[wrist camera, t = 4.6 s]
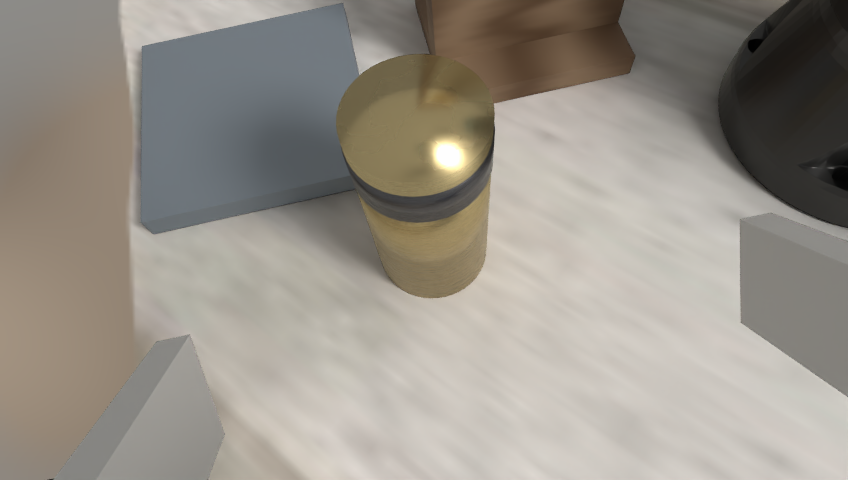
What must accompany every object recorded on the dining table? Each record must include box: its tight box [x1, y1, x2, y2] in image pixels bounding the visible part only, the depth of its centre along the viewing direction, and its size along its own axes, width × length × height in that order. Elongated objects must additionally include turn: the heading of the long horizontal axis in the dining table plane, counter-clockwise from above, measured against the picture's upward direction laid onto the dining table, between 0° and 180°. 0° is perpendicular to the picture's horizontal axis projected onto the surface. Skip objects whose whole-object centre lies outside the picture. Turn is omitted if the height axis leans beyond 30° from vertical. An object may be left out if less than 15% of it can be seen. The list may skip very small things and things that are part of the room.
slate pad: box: [141, 3, 359, 234], centre depth 37 cm, size 14×14×2 cm
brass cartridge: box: [336, 54, 495, 298], centre depth 27 cm, size 6×6×12 cm
